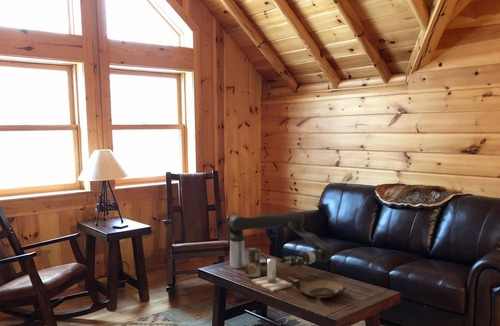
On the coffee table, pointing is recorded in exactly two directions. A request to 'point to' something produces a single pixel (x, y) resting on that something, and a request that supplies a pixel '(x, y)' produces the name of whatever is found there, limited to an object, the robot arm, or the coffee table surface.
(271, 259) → the metal tin
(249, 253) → the coffee box
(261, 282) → the ash board
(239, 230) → the robot arm
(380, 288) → the coffee table surface
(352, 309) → the coffee table surface
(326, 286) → the oil lamp
